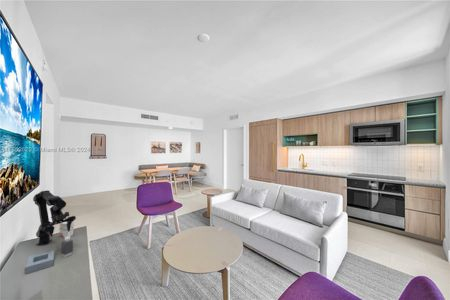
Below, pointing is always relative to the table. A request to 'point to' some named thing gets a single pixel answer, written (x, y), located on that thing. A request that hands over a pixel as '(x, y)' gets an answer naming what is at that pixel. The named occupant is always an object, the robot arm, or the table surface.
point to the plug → (67, 247)
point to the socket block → (39, 261)
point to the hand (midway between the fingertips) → (60, 234)
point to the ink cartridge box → (65, 229)
